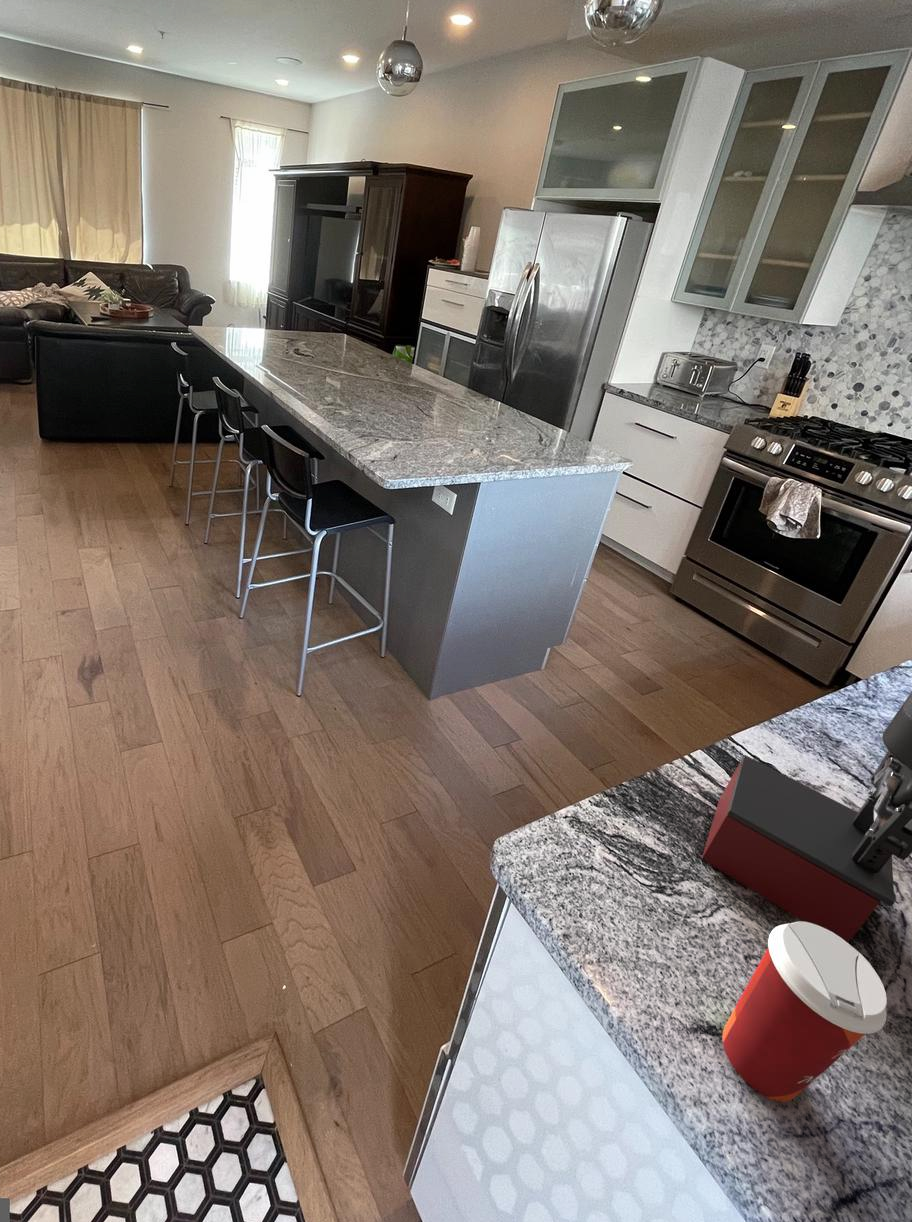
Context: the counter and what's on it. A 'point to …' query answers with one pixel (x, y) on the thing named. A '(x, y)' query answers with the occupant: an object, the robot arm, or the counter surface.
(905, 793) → the robot arm
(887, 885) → the lid
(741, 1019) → the paper cup
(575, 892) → the counter surface
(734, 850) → the box
